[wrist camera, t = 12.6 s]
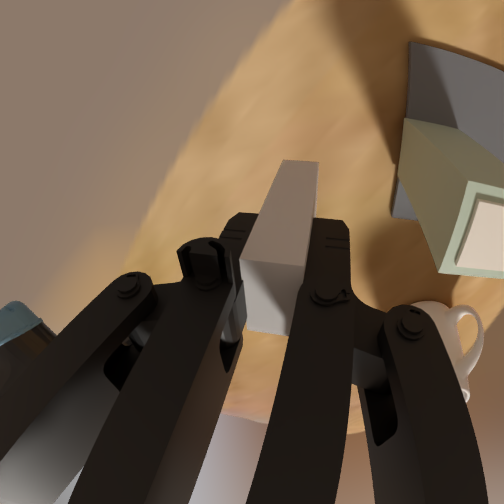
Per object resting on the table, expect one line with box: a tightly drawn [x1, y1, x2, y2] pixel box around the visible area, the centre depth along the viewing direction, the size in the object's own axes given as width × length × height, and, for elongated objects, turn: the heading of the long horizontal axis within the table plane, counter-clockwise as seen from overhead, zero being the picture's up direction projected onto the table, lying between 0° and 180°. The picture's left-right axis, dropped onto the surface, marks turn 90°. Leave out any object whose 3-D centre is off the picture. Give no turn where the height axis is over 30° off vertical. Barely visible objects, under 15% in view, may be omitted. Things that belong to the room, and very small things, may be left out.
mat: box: [391, 42, 504, 221], centre depth 16 cm, size 14×14×1 cm
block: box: [397, 118, 504, 279], centre depth 13 cm, size 4×4×11 cm
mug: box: [411, 301, 484, 402], centre depth 24 cm, size 9×12×11 cm
